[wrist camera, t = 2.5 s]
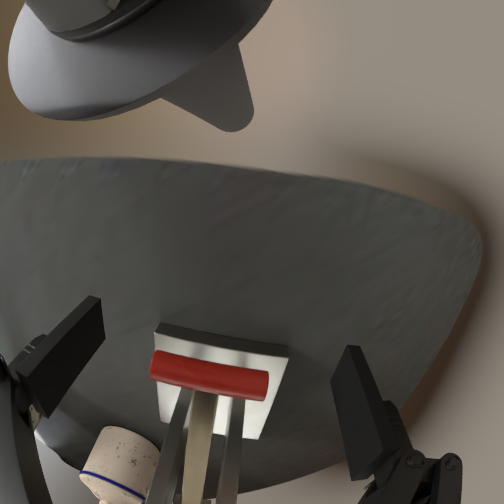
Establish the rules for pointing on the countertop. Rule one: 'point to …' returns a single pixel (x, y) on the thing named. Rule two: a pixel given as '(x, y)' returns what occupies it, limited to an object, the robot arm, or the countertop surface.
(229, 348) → the bracket
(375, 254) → the countertop surface
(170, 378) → the lever
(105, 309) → the countertop surface
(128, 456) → the teacup with lid
